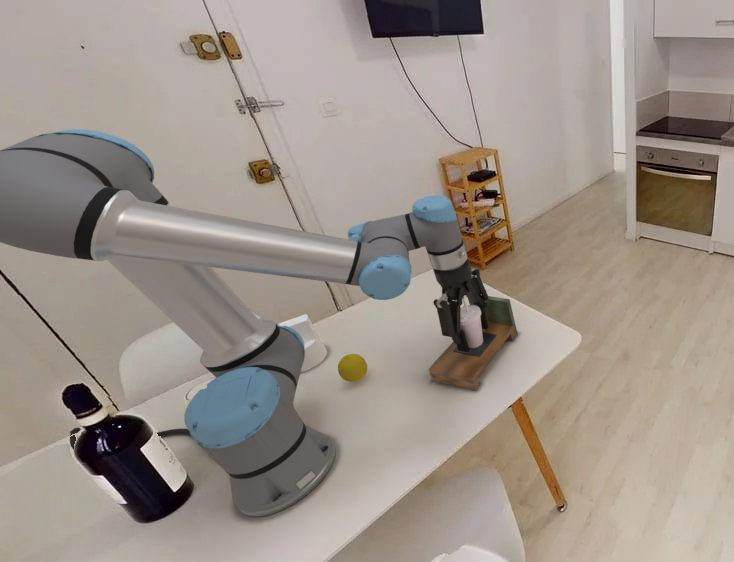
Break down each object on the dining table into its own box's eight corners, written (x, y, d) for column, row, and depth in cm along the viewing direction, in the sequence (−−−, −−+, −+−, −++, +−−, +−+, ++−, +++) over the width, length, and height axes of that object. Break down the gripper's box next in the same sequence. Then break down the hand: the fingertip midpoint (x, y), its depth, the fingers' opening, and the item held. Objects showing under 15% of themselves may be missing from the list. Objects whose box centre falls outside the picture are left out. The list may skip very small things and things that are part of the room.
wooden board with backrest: (432, 380, 98) (418, 344, 92) (479, 326, 114) (469, 292, 108) (476, 390, 95) (463, 353, 89) (517, 333, 111) (509, 299, 105)
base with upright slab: (284, 379, 100) (260, 343, 94) (285, 357, 106) (263, 322, 100) (328, 361, 104) (308, 326, 98) (326, 341, 111) (307, 307, 105)
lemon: (359, 390, 96) (346, 366, 92) (340, 387, 97) (326, 363, 93) (377, 372, 101) (365, 348, 97) (358, 369, 102) (346, 345, 98)
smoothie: (492, 334, 105) (481, 291, 98) (482, 352, 100) (468, 308, 93) (469, 333, 106) (456, 290, 99) (457, 351, 100) (442, 307, 94)
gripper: (433, 292, 82) (461, 372, 93) (490, 241, 99) (508, 314, 110) (403, 287, 83) (434, 366, 95) (464, 238, 100) (484, 310, 112)
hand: (474, 338), depth 102 cm, fingers open, 7 cm apart
